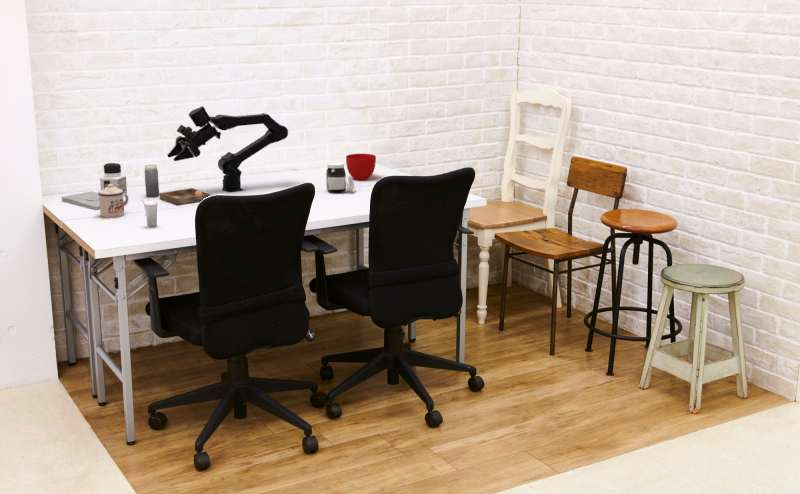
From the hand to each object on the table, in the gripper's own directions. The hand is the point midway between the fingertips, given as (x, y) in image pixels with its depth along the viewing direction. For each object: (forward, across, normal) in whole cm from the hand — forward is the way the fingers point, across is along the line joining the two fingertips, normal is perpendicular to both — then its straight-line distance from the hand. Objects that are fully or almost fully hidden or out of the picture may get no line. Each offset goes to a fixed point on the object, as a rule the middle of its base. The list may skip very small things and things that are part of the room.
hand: (170, 158), depth 414 cm
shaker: (+14, -3, +9) cm, 17 cm away
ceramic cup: (-64, +1, +56) cm, 85 cm away
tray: (+6, +9, +14) cm, 18 cm away
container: (+26, -12, +3) cm, 29 cm away
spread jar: (-47, +23, +46) cm, 70 cm away
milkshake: (+25, +46, +3) cm, 52 cm away
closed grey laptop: (+35, -2, -2) cm, 35 cm away
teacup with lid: (+32, +22, -1) cm, 38 cm away
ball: (+2, +12, +16) cm, 20 cm away
